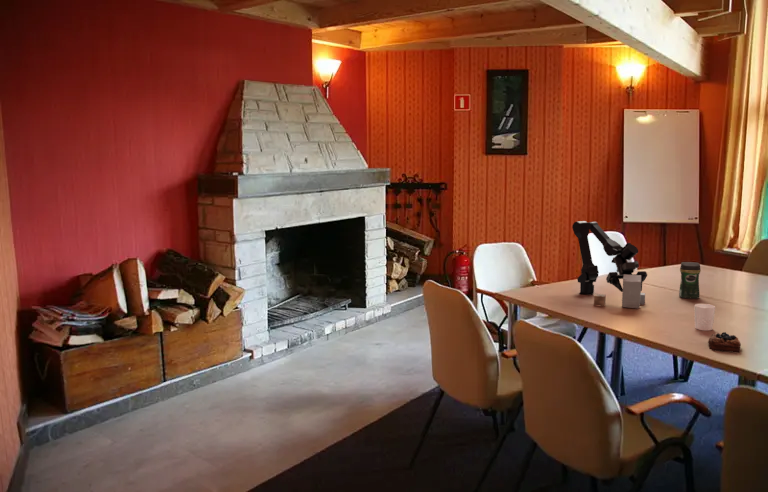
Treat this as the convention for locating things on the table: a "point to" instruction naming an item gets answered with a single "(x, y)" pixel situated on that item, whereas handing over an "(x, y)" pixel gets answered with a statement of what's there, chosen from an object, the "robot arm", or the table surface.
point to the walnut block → (599, 299)
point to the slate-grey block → (642, 299)
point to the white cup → (704, 316)
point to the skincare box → (631, 291)
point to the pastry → (724, 342)
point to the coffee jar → (689, 280)
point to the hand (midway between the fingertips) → (631, 291)
